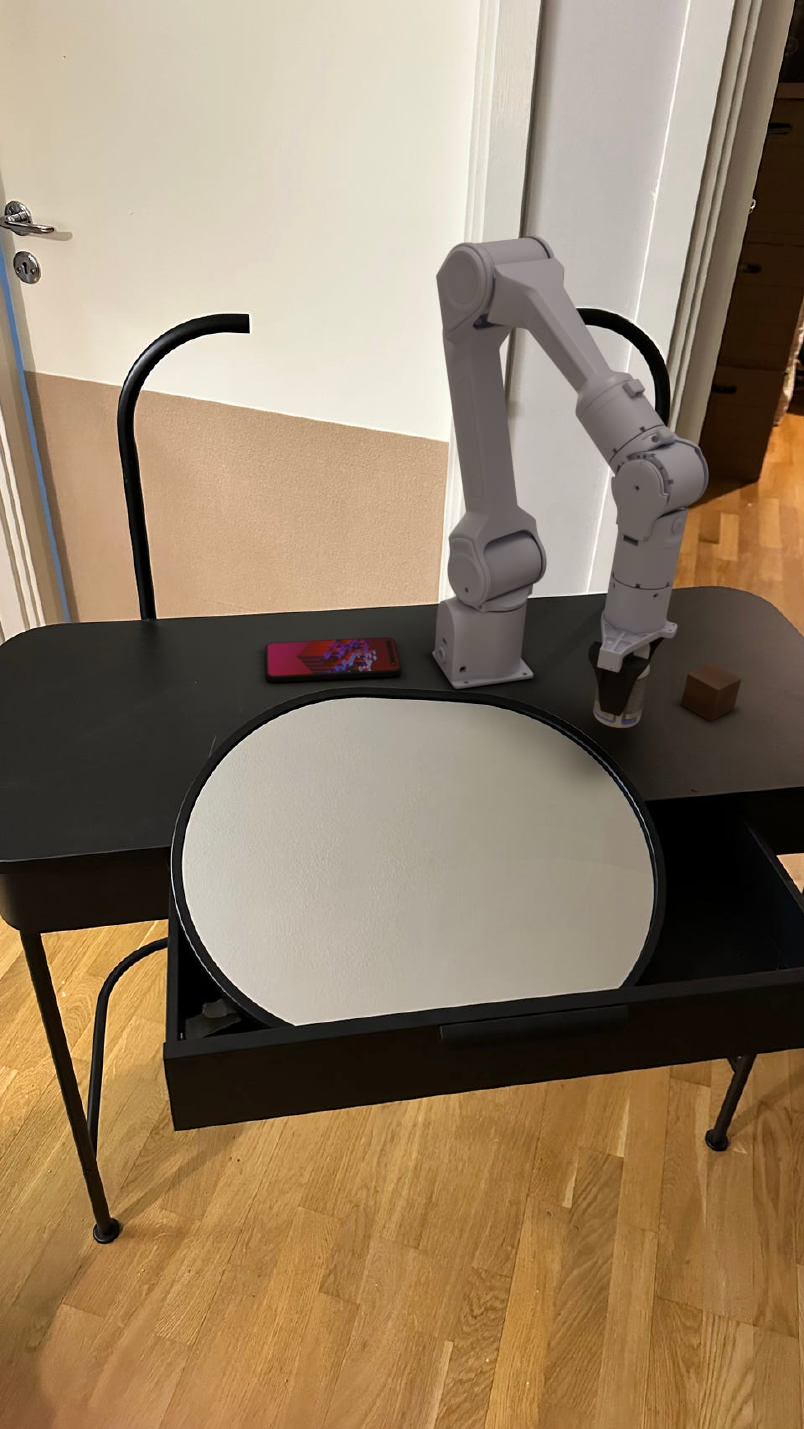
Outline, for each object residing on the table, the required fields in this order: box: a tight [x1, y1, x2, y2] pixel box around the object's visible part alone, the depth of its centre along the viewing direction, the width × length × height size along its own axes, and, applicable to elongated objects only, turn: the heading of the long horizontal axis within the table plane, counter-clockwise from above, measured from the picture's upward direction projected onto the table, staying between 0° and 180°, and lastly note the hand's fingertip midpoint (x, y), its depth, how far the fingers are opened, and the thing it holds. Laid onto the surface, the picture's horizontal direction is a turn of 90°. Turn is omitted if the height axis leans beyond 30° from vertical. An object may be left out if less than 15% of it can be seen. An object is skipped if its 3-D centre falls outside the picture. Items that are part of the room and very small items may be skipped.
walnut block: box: [680, 662, 742, 722], centre depth 105 cm, size 4×4×4 cm
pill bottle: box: [593, 643, 651, 729], centre depth 97 cm, size 5×5×8 cm
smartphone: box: [265, 636, 402, 683], centre depth 111 cm, size 8×1×15 cm
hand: (619, 699), depth 98 cm, fingers closed on pill bottle, 5 cm apart
